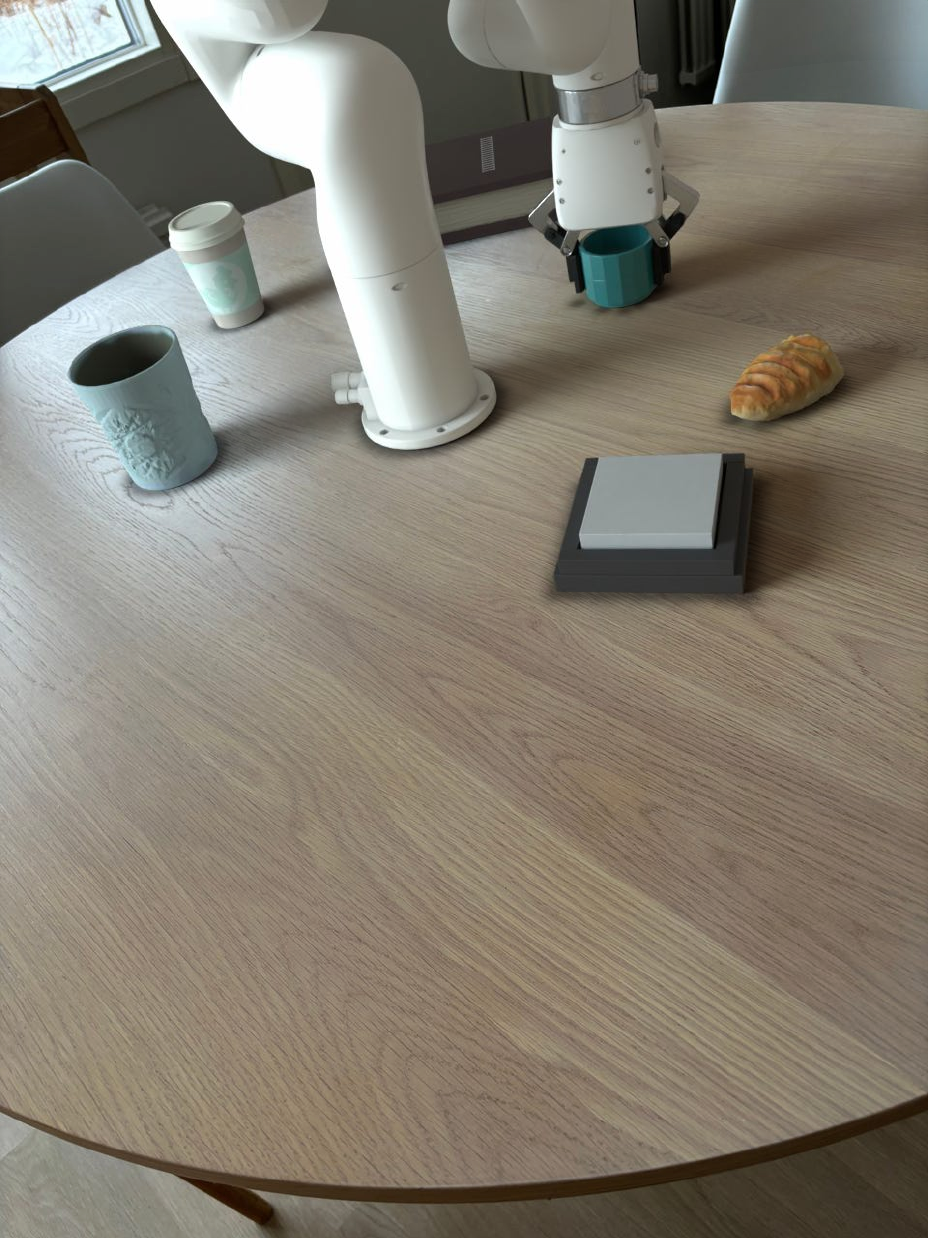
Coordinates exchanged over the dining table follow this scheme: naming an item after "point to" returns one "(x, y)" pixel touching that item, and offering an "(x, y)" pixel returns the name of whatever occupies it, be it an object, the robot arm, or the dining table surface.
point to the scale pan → (653, 502)
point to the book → (490, 179)
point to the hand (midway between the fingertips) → (620, 282)
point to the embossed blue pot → (146, 405)
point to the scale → (663, 566)
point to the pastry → (786, 379)
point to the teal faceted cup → (617, 265)
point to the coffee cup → (218, 261)
